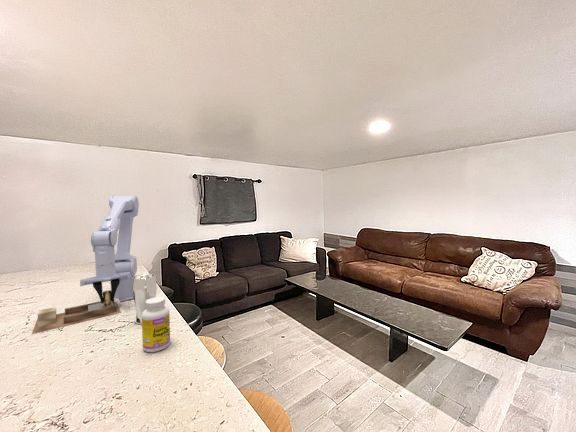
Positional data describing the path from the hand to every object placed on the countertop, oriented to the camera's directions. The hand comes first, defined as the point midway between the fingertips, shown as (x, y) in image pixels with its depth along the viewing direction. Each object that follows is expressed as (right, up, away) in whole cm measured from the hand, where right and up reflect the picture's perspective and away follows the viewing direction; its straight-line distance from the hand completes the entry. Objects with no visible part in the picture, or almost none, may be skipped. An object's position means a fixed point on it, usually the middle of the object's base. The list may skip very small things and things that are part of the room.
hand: (107, 301), depth 90 cm
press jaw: (-1, -3, -1) cm, 3 cm away
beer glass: (+17, -5, -6) cm, 19 cm away
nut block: (-12, -4, -10) cm, 16 cm away
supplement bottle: (+30, -5, -22) cm, 37 cm away
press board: (-6, -5, -5) cm, 9 cm away
